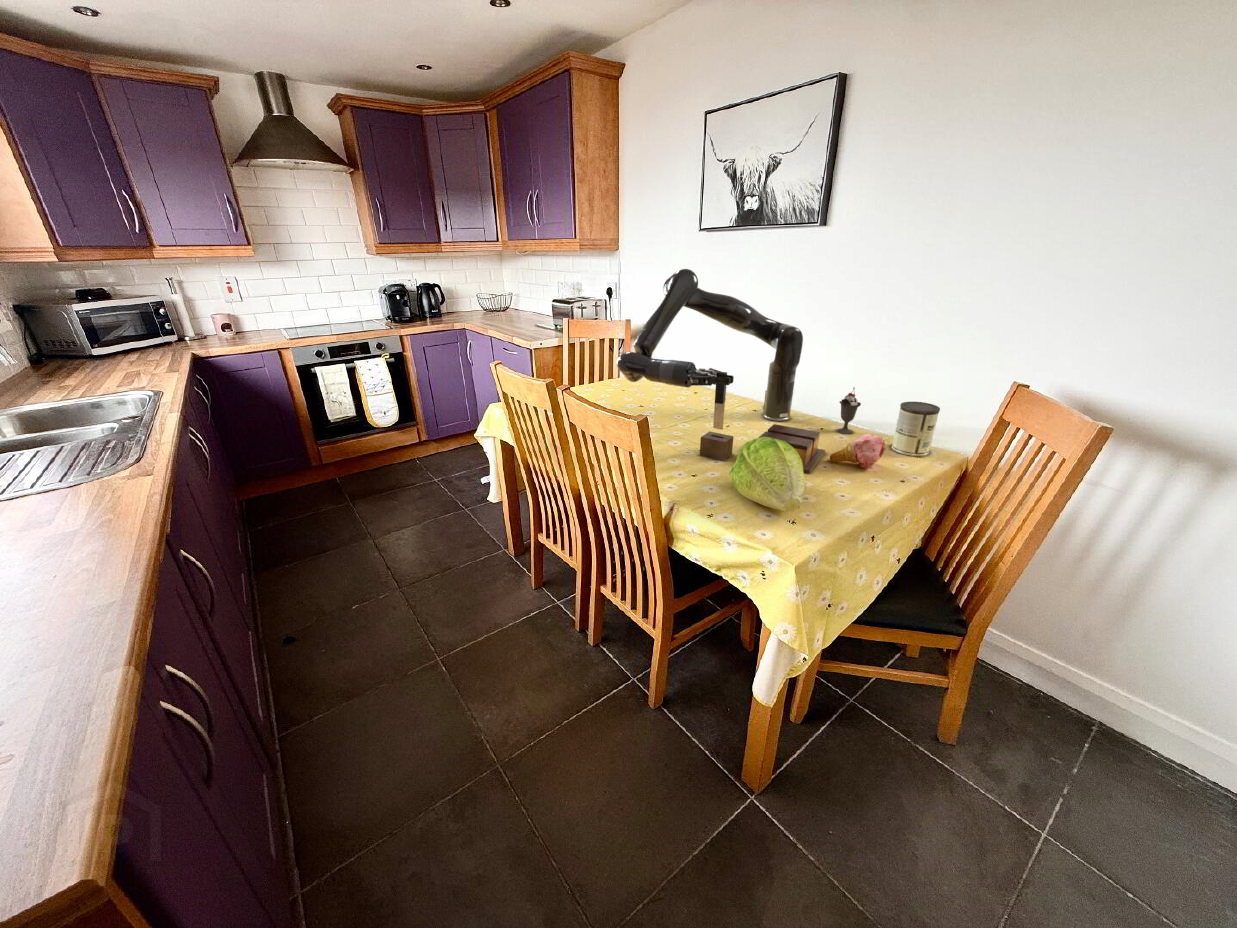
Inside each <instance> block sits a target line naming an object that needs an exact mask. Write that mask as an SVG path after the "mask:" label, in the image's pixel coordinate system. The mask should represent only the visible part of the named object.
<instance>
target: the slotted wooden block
mask: <svg viewBox="0 0 1237 928" xmlns="http://www.w3.org/2000/svg"><path fill="white" fill-rule="evenodd" d="M820 435H821V432H820V431H816V430H810V429H804V428H798V427H794V426H793V427H792V426H788V425H781V424H776V423H773V424H772V425H771V426H770V427H769V428H768V429H767V431H763V432H762V434H761V435H759V436H758V438H762V437H770V438H774V439H778V440H783V441H785V442H787V443H788V444H789V445H791V446H792V447H793V448H794V449H795V450H796V451H797V452H798V454H799V456H800V458H801V460H802V462H803V472H804V474H805V473H806V474H810V473H811V472H812V471H813V470H814V468H815V467H816V465H817V464H818V463H819V462H820V461H821V459H823V457H824V456H825V454H826V449H822V448H819V443H820Z"/></svg>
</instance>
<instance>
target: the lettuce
mask: <svg viewBox="0 0 1237 928" xmlns="http://www.w3.org/2000/svg"><path fill="white" fill-rule="evenodd" d="M729 474H730V478H731V481H732V485H733V487H734V488H735V489H736V491H737V492H738V493H739V494H740V495H741V496H743V497H745V498H746V499H748V500H750V501H752V502H754V503H757V504H759V505H762V506H765V507H768V508H769V509H773V510H777V511H783V512H790V513H791V512H792V513H793V512H796V511H797V510H800V509H801V505H802V504H803V500H804V495H805V492H806V488H807V483H806V477H805V472H803V462H802V460H801V458H800V456H799V454H798V452H797V451H796V450H795V449H794V448H793V447H792V446H791V445H789V444H788V443H787V442H785V441H783V440H778V439H774V438H770V437H762V438H759V437H756V438H753V439H751V440H748V441H746V442H745V443H744V444H743V445H742V447H741V448H740V450H739V451H738V453H737V456H736V459H735V462H734V464H733V465H732V467H731V469H730V470H729Z"/></svg>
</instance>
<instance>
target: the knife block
mask: <svg viewBox="0 0 1237 928" xmlns="http://www.w3.org/2000/svg"><path fill="white" fill-rule="evenodd" d="M699 443H700V444H699V456H701V457H705V458H710V459H713V460H718V461H722V462H724V461H727V459H729V457H731V456H732V455H733V447H734V435H730V434H725V433H721V432H715V431H707V432H706V433H704V434H703V435H702V436H700V442H699Z"/></svg>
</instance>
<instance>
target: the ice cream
mask: <svg viewBox="0 0 1237 928" xmlns="http://www.w3.org/2000/svg"><path fill="white" fill-rule="evenodd" d="M885 452H886V442H885V440H884V439H883V438H882V437H881V436H879V435H876V434H871V433H869V434H868V433H864V434H861V435H859V436H858V437H857V438H855V440H854V442H853V441H852V442H849V443H848V444H847V445H846V446H845V447H844V448H842V449H841V450H838V451H835V452H834V453H831V454H830V455H829V461H830V462H832V463H840V462H850V463H853V464H857V463H858V467H860V468H861V469H869V468H872V467H873V466H874V464H876V463H877V462H878V461H879V460H880V459H881V458H882V457H883V455H884V454H885Z"/></svg>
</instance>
